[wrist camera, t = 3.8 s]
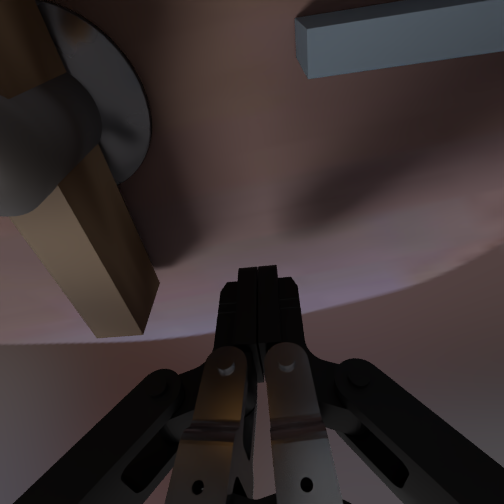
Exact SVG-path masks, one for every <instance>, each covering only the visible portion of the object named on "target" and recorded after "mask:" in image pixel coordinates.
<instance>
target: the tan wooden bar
mask: <svg viewBox="0 0 504 504" xmlns="http://www.w3.org/2000/svg"><path fill="white" fill-rule="evenodd" d="M101 134H102V121H101V116H100V113H99V110H98V107H97V105H96V103H95V101H94V100H93V98H92V96H91V95H90V94H89V92H88V91H87V90H86V88H85V87H84V86H83V85H82V84H81V83H80V82H79V81H78V80H77V79H75V78H74V77H73V76H71V75H70V74H69V73H67V72H66V70H65V68H64V65H63V63H62V61H61V59H60V56H59V54H58V52H57V50H56V47H55V45H54V43H53V41H52V38H51V36H50V34H49V32H48V29H47V27H46V25H45V22H44V20H43V18H42V16H41V13H40V11H39V9H38V7H37V4H36V2H35V0H0V216H7V217H9V218H10V219H11V221H12V222H13V224H14V225H15V226H16V228H17V229H18V230H19V232H20V233H21V235H22V236H23V237H24V239H25V240H26V241H27V243H28V244H29V246H30V247H31V248H32V250H33V251H34V252H35V254H36V255H37V257H38V258H39V259H40V261H41V262H42V263H43V265H44V266H45V267H46V269H47V270H48V272H49V273H50V274H51V276H52V277H53V278H54V280H55V281H56V283H57V284H58V285H59V287H60V288H61V289H62V291H63V292H64V294H65V295H66V296H67V298H68V299H69V300H70V302H71V303H72V305H73V306H74V307H75V309H76V310H77V311H78V313H79V314H80V316H81V317H82V318H83V320H84V321H85V322H86V324H87V325H88V327H89V328H90V329H91V331H92V332H93V333H94V335H95V336H96V338H107V337H120V336H133V335H143V333H144V330H145V327H146V324H147V321H148V318H149V315H150V312H151V309H152V306H153V303H154V299H155V296H156V293H157V290H158V287H159V284H160V282H159V280H158V278H157V275H156V273H155V271H154V269H153V266H152V264H151V262H150V260H149V257H148V255H147V253H146V250H145V248H144V246H143V244H142V241H141V239H140V237H139V235H138V232H137V230H136V228H135V226H134V223H133V221H132V219H131V217H130V214H129V212H128V210H127V208H126V205H125V203H124V201H123V199H122V196H121V194H120V192H119V190H118V187H117V185H116V183H115V181H114V178H113V176H112V174H111V171H110V169H109V167H108V165H107V162H106V160H105V158H104V156H103V153H102V151H101V149H100V147H99V144H98V143H99V141H100V138H101Z"/></svg>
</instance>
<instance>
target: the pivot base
mask: <svg viewBox="0 0 504 504" xmlns="http://www.w3.org/2000/svg"><path fill="white" fill-rule="evenodd" d="M35 2H36V4H37V7H38V9H39V11H40V13H41V16H42V18H43V20H44V22H45V25H46V27H47V29H48V32H49V34H50V36H51V38H52V41H53V43H54V45H55V47H56V50H57V52H58V54H59V56H60V59H61V61H62V63H63V65H64V68H65V70H66V72H67V73H69V74H70V75H71V76H73V77H74V78H75V79H77V80H78V81H79V82H80V83H81V84H82V85H83V86H84V87H85V88H86V90H87V91H88V92H89V94H90V95H91V96H92V98H93V100H94V101H95V103H96V105H97V107H98V110H99V113H100V116H101V121H102V134H101V138H100V141H99V143H98V144H99V147H100V149H101V151H102V153H103V156H104V158H105V160H106V162H107V165H108V167H109V169H110V171H111V174H112V176H113V178H114V181H115V183H116V185H118V184H120V183H122V182H124V181H125V180H127V179H128V178H129V177H130V176H131V175H132V174H133V173H134V172H135V171H136V170H137V169H138V167H139V166H140V165H141V163H142V162H143V160H144V158H145V156H146V154H147V152H148V148H149V145H150V141H151V134H152V119H151V111H150V106H149V102H148V98H147V95H146V93H145V90H144V87H143V85H142V83H141V81H140V79H139V77H138V75H137V73H136V71H135V69H134V68H133V66H132V65H131V63H130V62H129V60H128V58H127V57H126V56H125V55H124V53H123V52H122V51H121V50H120V48H119V47H118V46H117V45H116V44H115V43H114V42H113V41H112V40H111V39H110V38H109V37H108V36H107V35H106V34H105V33H104V32H103V31H102V30H100V29H99V28H98V27H97V26H96V25H94V24H93V23H91V22H90V21H88V20H87V19H85V18H84V17H82V16H81V15H79V14H77V13H75V12H73V11H71V10H70V9H68V8H65V7H63V6H60V5H57V4H55V3H52V2H48V1H43V0H35Z"/></svg>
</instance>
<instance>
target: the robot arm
mask: <svg viewBox="0 0 504 504" xmlns="http://www.w3.org/2000/svg"><path fill="white" fill-rule="evenodd" d="M264 375H265V380H266V385H267V395H268V404H269V415H270V426H271V428H270V434H271V445H272V457H273V467H274V477H275V487H276V493H275V494H273V495H270V496H267V497H264V498H261V499H258V500H254V499H253V488H254V486H253V485H254V481H253V480H254V477H253V454H254V453H253V452H254V441H255V428H256V414H257V383H260V382H264ZM326 427H327V428H330V429H333V430H335V431H336V432H337V434H338V435H339V436H340V437H341V438H342V439H343V440H344V441H345V442H346V443H347V445H349V447H350V448H351V449H352V450H353V451H354V452H355V453H356V454H357V455H358V456H359V457H360V458H361V459H362V460H363V461H364V462H365V463H366V464H367V466H368V467H369V468H370V469H371V470H372V471H373V472H374V473H375V474H376V475H377V476H378V477H379V478H380V479H381V480H382V481H383V482H384V483H385V484H386V486H388V488H389V489H390V490H391V491H392V492H393V493H394V494H395V495H396V496H397V497H398V498H399V499H400V500H401V501H402V502H403V503H404V504H504V468H503V467H502V466H501V465H500V464H498V463H497V462H496V461H494V460H493V459H492V458H490V457H489V456H488V455H487V454H486V453H484V452H483V451H482V450H480V449H479V448H478V447H477V446H475V445H474V444H473V443H472V442H470V441H469V440H468V439H466V438H465V437H464V436H463V435H462V434H460V433H459V432H458V431H457V430H455V429H454V428H453V427H451V426H450V425H449V424H448V423H446V422H445V421H444V420H443V419H441V418H440V417H439V416H438V415H436V414H435V413H434V412H432V411H431V410H430V409H429V408H427V407H426V406H425V405H423V404H422V403H421V402H420V401H418V400H417V399H416V398H415V397H414V396H412V395H411V394H410V393H408V392H407V391H406V390H404V389H403V388H402V387H401V386H399V385H398V384H397V383H396V382H395V381H393V380H392V379H391V378H390V377H388V376H387V375H386V374H384V373H383V372H382V371H381V370H379V369H378V368H377V367H375V366H374V365H373V364H371V363H370V362H368V361H366V360H363V359H356V358H355V359H354V358H353V359H348V360H345V361H343V362H342V363H340V364H336V363H332V362H328V361H324V360H321V359H319V358H317V357H316V356H314V355H313V354H312V353H311V352H310V351H309V349H308V348H307V346H306V344H305V339H304V332H303V323H302V316H301V308H300V301H299V293H298V286H297V285H296V283H295V282H294V280H293V279H292V278H291V277H284V278H278V274H277V265H270V266H259V267H258V268H257V267H248V268H239V271H238V281H237V282H227V283H226V285H225V286H224V288H223V289H222V291H221V292H220V301H219V309H218V317H217V325H216V333H215V341H214V348H213V351H212V353H211V354H210V355H209V356H208V358H207V359H206V362H205V363H203V364H202V365H201V366H199V367H197V368H195V369H193V370H190V371H187V372H185V373H182V374H179V375H178V374H177V373H176V372H174V371H172V370H170V369H160V370H157V371H154V372H152V373H151V374H149V375H148V376H147V377H145V378H144V379H143V380H142V381H141V382H140V383H139V384H138V385H137V386H136V387H135V388H134V389H133V390H132V391H131V392H130V393H129V394H128V395H127V396H125V397H124V398H123V399H122V400H121V401H120V402H119V403H118V404H117V405H116V406H115V407H114V408H113V409H112V410H111V411H110V412H109V413H108V414H107V415H106V416H104V418H102V419H101V420H100V421H99V422H98V423H97V424H96V425H95V426H94V427H93V428H92V429H91V430H90V431H89V432H88V433H87V434H86V435H85V436H83V437H82V439H80V440H79V441H78V442H77V443H76V444H75V445H74V446H73V447H72V448H71V449H70V450H69V451H68V452H67V453H66V454H65V455H64V456H63V457H61V458H60V459H59V460H58V461H57V462H56V463H55V464H54V465H53V466H52V467H51V468H50V469H49V470H48V471H47V472H46V473H45V474H44V475H43V476H42V477H40V478H39V479H38V480H37V481H36V482H35V483H34V484H33V485H32V486H31V487H30V488H29V489H28V490H27V491H26V492H25V493H24V494H23V495H22V496H21V497H20V498H18V499H17V500H16V501H15V502H14V503H13V504H143V503H144V502H145V500H146V499H147V498H148V497H149V496H150V494H151V493H152V492H153V491H154V490H155V488H156V487H157V486H158V485H159V483H160V482H161V481H162V480H163V479H164V477H165V476H166V475H167V474H168V473H169V471H170V470H171V469H172V468H173V471H172V475H171V479H170V483H169V488H168V492H167V496H166V500H165V504H351V503H349V502H347V501H345V500H343V499H342V496H341V492H340V487H339V483H338V479H337V474H336V470H335V466H334V461H333V457H332V452H331V448H330V444H329V439H328V435H327V431H326Z"/></svg>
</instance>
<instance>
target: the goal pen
mask: <svg viewBox="0 0 504 504" xmlns="http://www.w3.org/2000/svg"><path fill="white" fill-rule="evenodd" d="M295 40H296V58H297V60H298V61H299V63H300V65H301V67H302V69H303V71H304V73H305V74H306V76H307V78H308V79H312V78H319V77H326V76H333V75H340V74H347V73H354V72H361V71H368V70H375V69H382V68H389V67H396V66H403V65H410V64H417V63H424V62H431V61H438V60H445V59H452V58H459V57H466V56H473V55H480V54H487V53H494V52H501V51H504V0H403V1H397V2H390V3H384V4H378V5H372V6H366V7H359V8H353V9H347V10H341V11H335V12H329V13H322V14H316V15H310V16H304V17H298V18H295Z"/></svg>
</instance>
